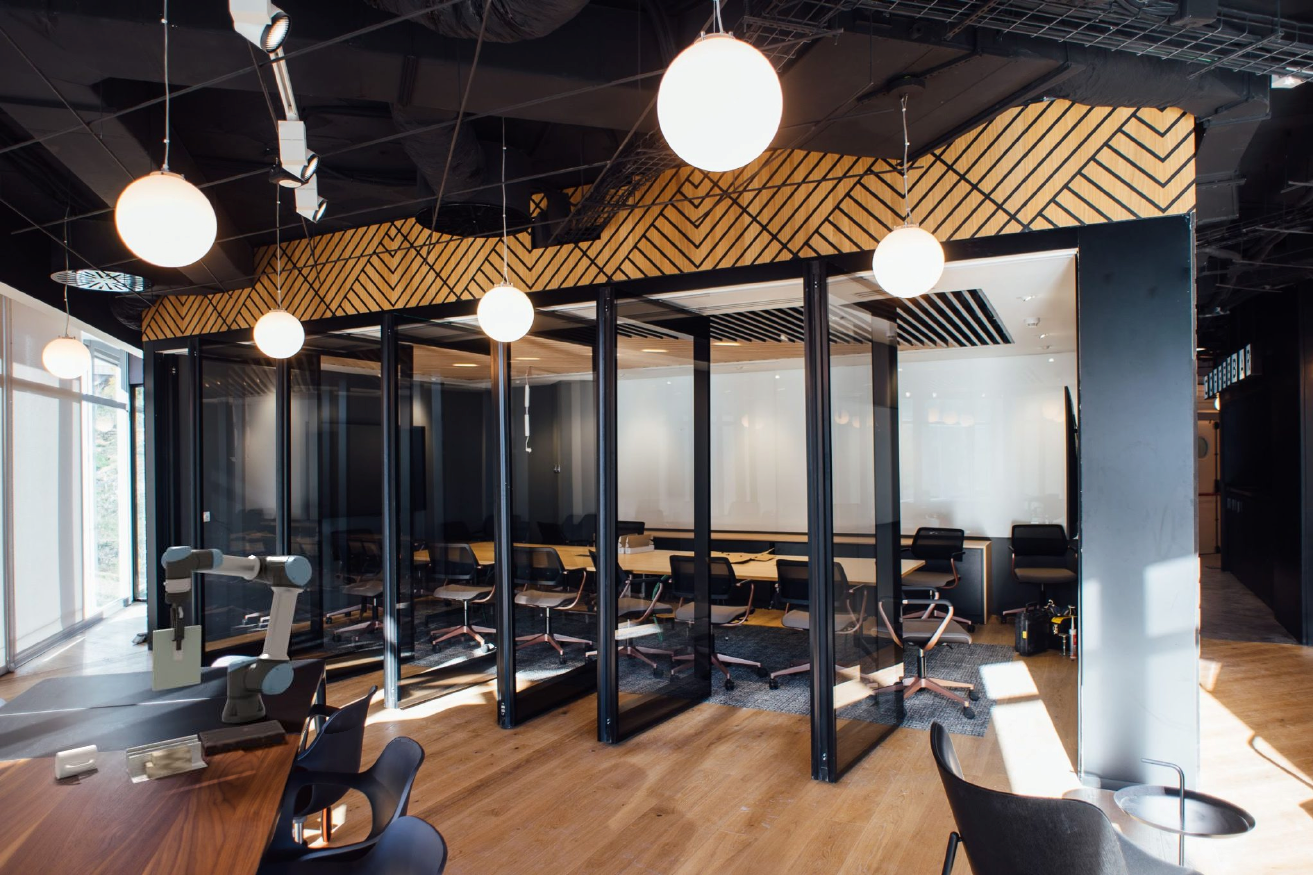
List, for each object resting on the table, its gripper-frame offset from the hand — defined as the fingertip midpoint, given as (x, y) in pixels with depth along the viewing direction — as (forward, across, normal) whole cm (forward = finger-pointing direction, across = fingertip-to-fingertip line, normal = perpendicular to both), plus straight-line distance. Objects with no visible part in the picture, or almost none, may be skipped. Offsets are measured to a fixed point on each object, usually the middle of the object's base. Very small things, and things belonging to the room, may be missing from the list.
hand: (177, 658), depth 263 cm
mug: (+33, 0, -27) cm, 42 cm away
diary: (+33, +5, +20) cm, 39 cm away
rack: (+32, +16, -5) cm, 36 cm away
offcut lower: (+31, +20, -5) cm, 37 cm away
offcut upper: (+28, +20, -5) cm, 35 cm away
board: (+10, 0, 0) cm, 10 cm away
